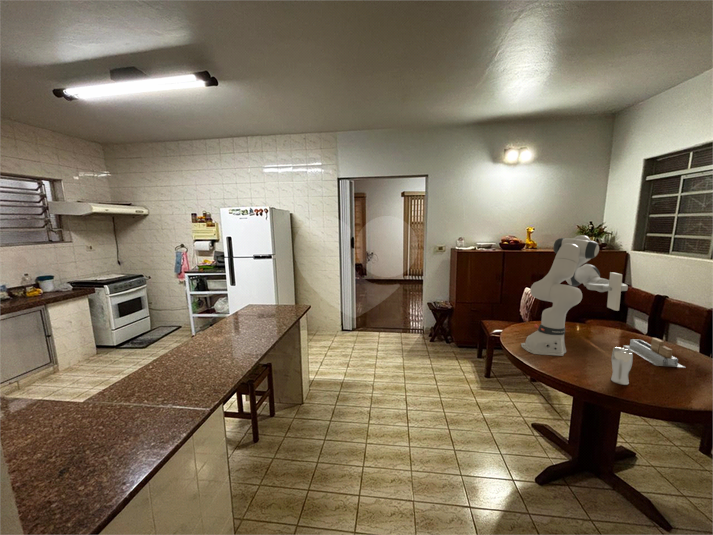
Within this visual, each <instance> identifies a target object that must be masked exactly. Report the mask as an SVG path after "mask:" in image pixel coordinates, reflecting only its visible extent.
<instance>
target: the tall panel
mask: <svg viewBox="0 0 713 535" xmlns="http://www.w3.org/2000/svg"><path fill="white" fill-rule="evenodd" d="M608 280H609V287H611V288H612V291H607V302H606V308H608V309H611V310H613V311H617V312H618V311H620V304H621V295H622V293H621V292H622V291H621V285H622V283H623V274H622V273H618V272H611V271H610V272H609V278H608Z"/></svg>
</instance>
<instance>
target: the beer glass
mask: <svg viewBox="0 0 713 535" xmlns="http://www.w3.org/2000/svg"><path fill="white" fill-rule="evenodd" d="M633 353H634V352H633V351H631V350H629V349H628V348H626V347H617V346H616V347H613V348H612V353H611V368H612V374H611V378H610V380H611V381H612V382H613V383H615V384H618V385H623V386H628V385H629V384H630V382H629V381H630V380H629V375H630V371H631V369H632V366H633V360H634V359H633V358H634V355H633Z"/></svg>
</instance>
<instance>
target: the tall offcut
mask: <svg viewBox="0 0 713 535" xmlns="http://www.w3.org/2000/svg"><path fill="white" fill-rule="evenodd" d="M650 345H651V349H652V350H653V351H655V352H657V353H659V347H660V346H665V341H664V340H663V339H660V338H657V337H651V342H650Z"/></svg>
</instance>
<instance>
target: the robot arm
mask: <svg viewBox="0 0 713 535" xmlns="http://www.w3.org/2000/svg"><path fill="white" fill-rule="evenodd" d="M552 250H553V252H554V253H555V254H556V255H555V257H554V260H553V263H552V265H551V267H550V269H549V271H548V273H547V274H546V275H545V276H544V277H543V278H542V279H540V280H538V281H535V282H533V284H531V286H530V291H529V292H530V295H531V296H532V297H533V298H535V299H538V300H540V301H544V302H550V303H552V306H551V307H548V308H545V309H543V310H542V313H541V322H540V324H536V323H535V324H534V325H533V326H534V328H535V329H537V330H536V331H534V332H532V333H531V334H529V335H528V336H527V337H526V340H525V342H521V343H520V346H521V348H522V349H524V350H525V351H526V352H529V353H531V354H534V355H543V356H557V357H564V355H565V354H566V353H567V348H566V343H565V334H566V327H565V326H566V325H565V324H566V317H567V314H568V312H569V310H571V309H572V308H573V307H575V306H577V305H578V304H579V303H581V301H582V299H583V293H582V290H581V289H580V288H578V286H580V285H581V284H583V287H586V289H587V290H589V291H597V292H599V293H605V292H608V291H612V288H611V287H609V279H607V278H603V277H601V273H600V270H599V269H598V268H597V267H596V266H595V265H593V264H590V263H588V262H589V261H591V259H592V260H593V259H594V258H596V257H597V256H598V254H599V253H600V252H599V251H600V246H599V243H598V242H596V241H594V240H591V239H590V237H589V236H587V235H583V234H581V235H576V236H574V237H573V238H570V237H569V238H566V237H561V238H560V237H559V238H557V239H556V240H555V242H554V244H553V247H552ZM564 281H565V282H567V284H563V282H564ZM561 283H562V284H561ZM628 289H629V286H628V284H626V283H623V282H622V285H621V292H626V291H628Z"/></svg>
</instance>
